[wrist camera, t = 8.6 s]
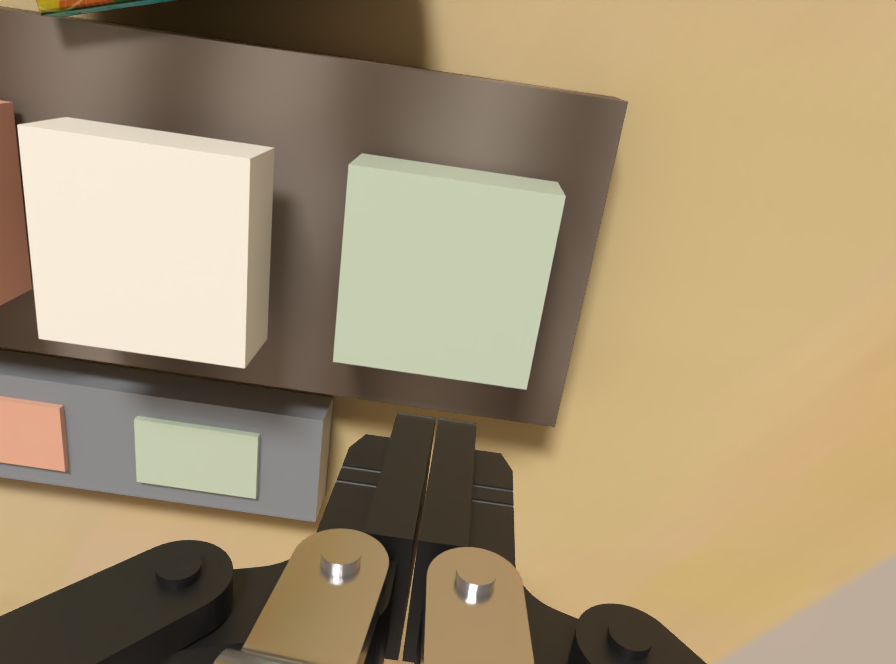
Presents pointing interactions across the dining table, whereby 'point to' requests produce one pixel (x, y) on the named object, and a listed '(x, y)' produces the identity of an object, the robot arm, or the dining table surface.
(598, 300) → the dining table surface
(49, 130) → the key cream
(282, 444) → the card
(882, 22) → the dining table surface
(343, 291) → the key sage
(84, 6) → the puzzle game
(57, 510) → the dining table surface
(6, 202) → the key terracotta
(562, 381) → the keypad base
